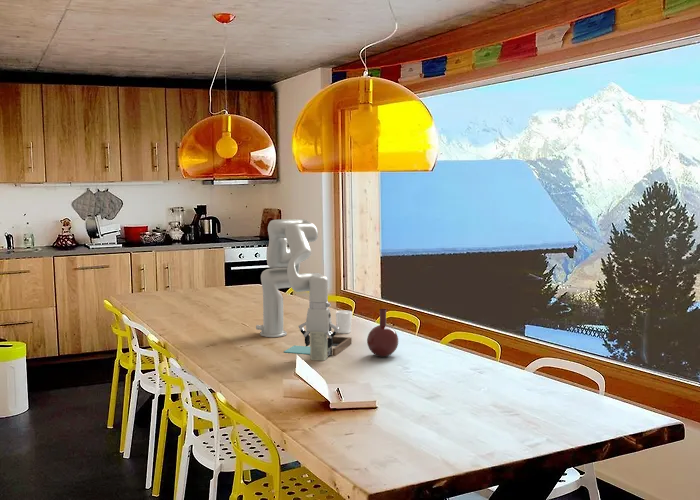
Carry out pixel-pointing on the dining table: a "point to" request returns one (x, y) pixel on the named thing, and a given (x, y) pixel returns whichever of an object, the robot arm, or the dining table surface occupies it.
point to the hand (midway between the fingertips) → (318, 346)
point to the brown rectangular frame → (343, 344)
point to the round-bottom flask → (382, 338)
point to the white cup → (344, 321)
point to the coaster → (298, 350)
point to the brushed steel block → (329, 350)
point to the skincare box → (318, 345)
